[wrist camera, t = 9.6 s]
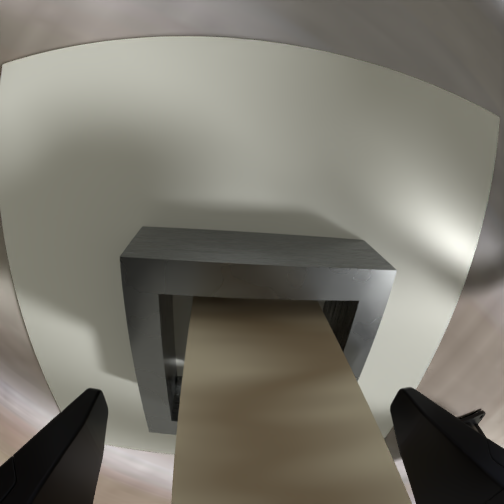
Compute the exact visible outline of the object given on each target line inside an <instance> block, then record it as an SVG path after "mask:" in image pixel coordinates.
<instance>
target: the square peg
mask: <svg viewBox="0 0 504 504" xmlns="http://www.w3.org/2000/svg"><path fill="white" fill-rule="evenodd" d="M171 504H412V503H411V500H410V498H409V495H408V493H407V491H406V488H405V486H404V484H403V481H402V479H401V477H400V474H399V472H398V470H397V467H396V465H395V463H394V460H393V458H392V456H391V454H390V451H389V449H388V447H387V445H386V442H385V440H384V438H383V436H382V434H381V431H380V429H379V427H378V425H377V423H376V420H375V418H374V416H373V414H372V412H371V410H370V407H369V405H368V403H367V401H366V399H365V397H364V395H363V392H362V390H361V388H360V386H359V384H358V382H357V380H356V378H355V376H354V374H353V372H352V369H351V367H350V365H349V363H348V361H347V359H346V357H345V355H344V353H343V351H342V349H341V347H340V345H339V343H338V341H337V339H336V337H335V335H334V333H333V331H332V329H331V327H330V325H329V323H328V321H327V319H326V317H325V315H324V313H323V311H322V309H321V307H320V305H319V303H318V301H317V300H275V299H245V298H222V297H202V296H193V302H192V309H191V316H190V323H189V330H188V337H187V345H186V352H185V360H184V368H183V377H182V385H181V394H180V404H179V413H178V423H177V434H176V445H175V458H174V471H173V486H172V503H171Z"/></svg>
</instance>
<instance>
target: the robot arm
mask: <svg viewBox="0 0 504 504" xmlns="http://www.w3.org/2000/svg"><path fill="white" fill-rule="evenodd" d="M390 413H391V417H392V421H393V426H394V430H395V434H396V439H397V443H398V447H399V451H400V454H401V457H402V460H403V463H404V466H405V469H406V472H407V475H408V479H409V482H410V485H411V488H412V491H413V495H414V498H415V502H416V504H504V448H502V447H500V446H499V445H497V444H496V443H494V442H492V441H491V440H489V439H487V438H486V436H485V435H484V433H483V432H482V430H481V428H480V427H479V425H478V423H479V422H480V421H481V420H482V418H483V417H484V416H485V414H486V413H485V412H484V411H480V412H478V413H475V414H473V415H470V416H468V417H465V418H462V419H460V420H459V419H458V418H456V417H455V416H453V415H452V414H450V413H449V412H448V411H446V410H445V409H443V408H442V407H440V406H439V405H437V404H436V403H434V402H433V401H431V400H430V399H428V398H427V397H426V396H424V395H423V394H421V393H420V392H418V391H417V390H415V389H414V388H412V387H406V388H401V389H400V390H399V391H398V392H397V394H396V396H395V398H394V399H393V401H392V403H391V405H390ZM107 420H108V406H107V403H106V400H105V397H104V394H103V392H102V390H100V389H95V388H88V389H86V390H85V391H84V392H83V393H82V394H80V395H79V396H78V397H77V398H76V399H75V400H74V401H73V402H72V403H70V404H69V405H68V406H67V407H66V408H65V409H64V410H63V411H62V412H60V413H59V414H58V415H57V416H56V417H55V418H54V419H53V420H51V421H50V422H49V423H48V424H47V425H46V426H45V427H44V428H43V429H41V430H40V431H39V432H38V433H37V434H36V435H35V436H34V437H33V438H32V439H30V440H29V441H28V442H27V443H26V444H25V445H24V446H23V447H22V448H20V449H19V450H18V451H17V452H16V453H15V454H14V455H13V456H12V457H10V458H9V459H8V460H7V461H6V462H5V463H4V464H3V465H1V466H0V504H93V500H94V495H95V490H96V485H97V481H98V476H99V472H100V467H101V463H102V458H103V452H104V443H105V435H106V427H107Z"/></svg>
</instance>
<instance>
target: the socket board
mask: <svg viewBox="0 0 504 504" xmlns="http://www.w3.org/2000/svg"><path fill="white" fill-rule="evenodd" d="M499 123H500V117H499V116H497V115H495V114H493V113H491V112H490V111H488V110H486V109H484V108H482V107H480V106H478V105H476V104H474V103H472V102H470V101H468V100H466V99H464V98H462V97H460V96H458V95H455V94H453V93H451V92H449V91H447V90H444V89H442V88H440V87H437V86H435V85H432V84H430V83H427V82H425V81H422V80H420V79H417V78H415V77H412V76H409V75H406V74H403V73H401V72H398V71H395V70H392V69H389V68H386V67H382V66H379V65H376V64H373V63H369V62H366V61H362V60H359V59H355V58H351V57H347V56H343V55H339V54H335V53H330V52H326V51H321V50H316V49H311V48H306V47H301V46H295V45H289V44H282V43H275V42H268V41H259V40H250V39H239V38H225V37H204V36H166V37H144V38H131V39H120V40H111V41H103V42H96V43H89V44H83V45H77V46H72V47H67V48H62V49H57V50H52V51H48V52H44V53H40V54H36V55H32V56H28V57H25V58H21V59H18V60H14V61H11V62H8V63H5V64H3V66H2V72H1V80H0V212H1V220H2V227H3V234H4V240H5V246H6V251H7V256H8V261H9V266H10V271H11V275H12V279H13V283H14V287H15V291H16V295H17V299H18V302H19V306H20V309H21V313H22V316H23V319H24V323H25V326H26V329H27V332H28V335H29V338H30V340H31V343H32V346H33V349H34V351H35V354H36V357H37V359H38V362H39V364H40V367H41V369H42V372H43V374H44V376H45V379H46V381H47V383H48V386H49V388H50V390H51V392H52V394H53V396H54V399H55V401H56V403H57V405H58V407H59V409H60V411H61V412H62V411H63V410H64V409H65V408H66V407H67V406H68V405H69V404H70V403H72V402H73V401H74V400H75V399H76V398H77V397H78V396H79V395H80V394H82V393H83V392H84V391H85V390H86V389H88V388H95V389H100V390H102V392H103V394H104V397H105V400H106V403H107V406H108V420H107V427H106V435H105V443H104V444H105V445H110V446H115V447H121V448H127V449H134V450H140V451H148V452H156V453H165V454H175V445H176V435H172V434H161V433H152V432H149V429H148V426H147V422H146V418H145V414H144V410H143V406H142V401H141V397H140V392H139V388H138V383H137V378H136V373H135V368H134V363H133V358H132V352H131V346H130V340H129V334H128V327H127V320H126V313H125V306H124V297H123V289H122V279H121V269H120V255H121V254H122V253H123V251H124V250H125V249H126V247H127V246H128V245H129V243H130V242H131V240H132V239H133V238H134V236H135V235H136V234H137V233H138V231H139V230H140V229H141V227H142V226H146V227H168V228H188V229H207V230H225V231H242V232H258V233H274V234H289V235H304V236H318V237H332V238H345V239H358V240H364V241H365V242H367V243H368V244H369V245H370V246H371V247H372V248H373V249H374V250H375V251H377V252H378V253H379V254H380V255H381V256H382V257H383V258H384V259H385V260H386V261H388V262H389V263H390V264H391V265H392V266H393V267H394V268H395V269H396V270H397V272H396V276H395V279H394V282H393V286H392V289H391V292H390V295H389V299H388V302H387V305H386V308H385V311H384V314H383V317H382V320H381V322H380V325H379V328H378V331H377V334H376V336H375V339H374V342H373V344H372V347H371V350H370V352H369V355H368V357H367V360H366V362H365V365H364V367H363V370H362V372H361V375H360V377H359V379H358V384H359V386H360V388H361V390H362V392H363V395H364V397H365V399H366V401H367V403H368V405H369V407H370V410H371V412H372V414H373V416H374V418H375V420H376V423H377V425H378V427H379V429H380V431H381V434H382V436H383V438H384V439H385V437H386V436H387V435H388V433H389V432H390V430H391V429H392V427H393V421H392V417H391V413H390V405H391V403H392V401H393V399H394V398H395V396H396V394H397V392H398V391H399V390H400V389H401V388H406V387H412V388H414V389H415V390H416V388H417V386H418V384H419V383H420V381H421V379H422V377H423V375H424V373H425V372H426V370H427V368H428V366H429V364H430V362H431V360H432V358H433V356H434V354H435V352H436V350H437V348H438V346H439V344H440V342H441V339H442V337H443V335H444V333H445V331H446V328H447V326H448V324H449V321H450V319H451V317H452V314H453V312H454V309H455V307H456V304H457V302H458V299H459V297H460V294H461V291H462V289H463V286H464V283H465V280H466V278H467V275H468V272H469V269H470V266H471V263H472V260H473V256H474V253H475V250H476V246H477V243H478V239H479V236H480V232H481V228H482V225H483V221H484V216H485V212H486V208H487V203H488V199H489V194H490V189H491V184H492V178H493V172H494V166H495V159H496V152H497V144H498V134H499ZM317 301H318V303H319V305H320V307H321V309H322V311H323V307H324V303H325V300H317ZM192 302H193V296H184V295H173V319H174V338H175V354H176V367H177V376H183V368H184V360H185V352H186V345H187V337H188V330H189V323H190V316H191V309H192Z"/></svg>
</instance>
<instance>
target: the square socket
mask: <svg viewBox="0 0 504 504" xmlns="http://www.w3.org/2000/svg"><path fill="white" fill-rule="evenodd" d="M120 269H121V279H122V289H123V297H124V306H125V313H126V320H127V327H128V334H129V340H130V346H131V352H132V358H133V363H134V368H135V373H136V378H137V383H138V388H139V392H140V397H141V401H142V406H143V410H144V414H145V418H146V422H147V426H148V429H149V432H152V433H161V434H172V435H176V434H177V423H178V413H179V404H180V394H181V385H182V377H183V376H177V367H176V354H175V338H174V319H173V295H184V296H202V297H222V298H245V299H275V300H325V303H324V307H323V313H324V315H325V317H326V319H327V321H328V323H329V325H330V327H331V329H332V331H333V333H334V335H335V337H336V339H337V341H338V343H339V345H340V347H341V349H342V351H343V353H344V355H345V357H346V359H347V361H348V363H349V365H350V367H351V369H352V372H353V374H354V376H355V378H356V380H357V382H358V379H359V377H360V375H361V372H362V370H363V367H364V365H365V362H366V360H367V357H368V355H369V352H370V350H371V347H372V344H373V342H374V339H375V336H376V334H377V331H378V328H379V325H380V322H381V320H382V317H383V314H384V311H385V308H386V305H387V302H388V299H389V295H390V292H391V289H392V286H393V282H394V279H395V276H396V272H397V270H396V269H395V268H394V267H393V266H392V265H391V264H390V263H389V262H388V261H386V260H385V259H384V258H383V257H382V256H381V255H380V254H379V253H378V252H377V251H375V250H374V249H373V248H372V247H371V246H370V245H369V244H368V243H367V242H365V241H364V240H358V239H345V238H332V237H318V236H304V235H289V234H274V233H258V232H242V231H225V230H207V229H188V228H168V227H146V226H142V227H141V229H140V230H139V231H138V233H137V234H136V235H135V236H134V238H133V239H132V240H131V242H130V243H129V245H128V246H127V247H126V249H125V250H124V251H123V253H122V254H121V255H120Z"/></svg>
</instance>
